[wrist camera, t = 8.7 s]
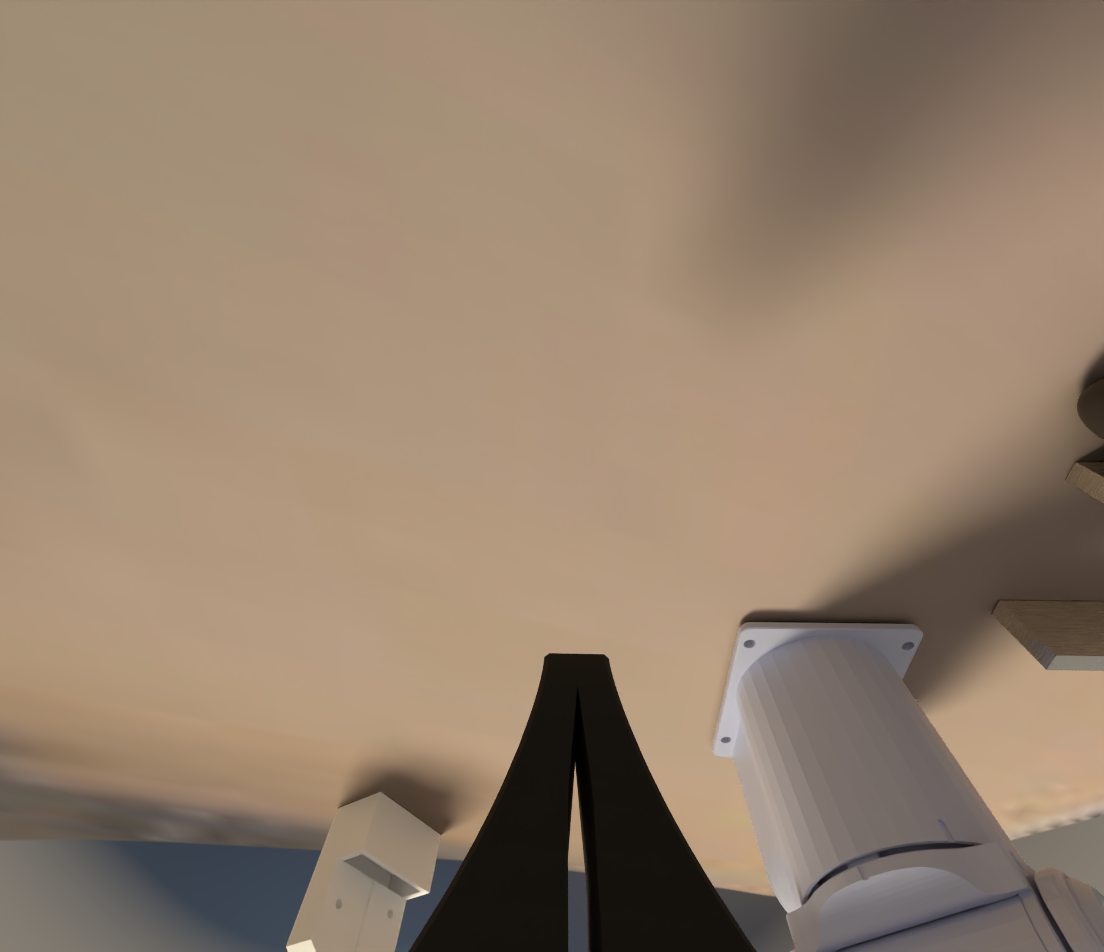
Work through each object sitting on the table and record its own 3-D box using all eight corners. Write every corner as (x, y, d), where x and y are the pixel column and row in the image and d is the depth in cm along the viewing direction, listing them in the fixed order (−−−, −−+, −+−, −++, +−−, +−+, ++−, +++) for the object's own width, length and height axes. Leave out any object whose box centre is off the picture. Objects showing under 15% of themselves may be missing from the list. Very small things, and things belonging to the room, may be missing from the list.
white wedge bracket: (432, 921, 34) (340, 1075, 26) (367, 779, 35) (258, 883, 27) (475, 909, 33) (395, 1065, 25) (407, 763, 34) (307, 866, 26)
